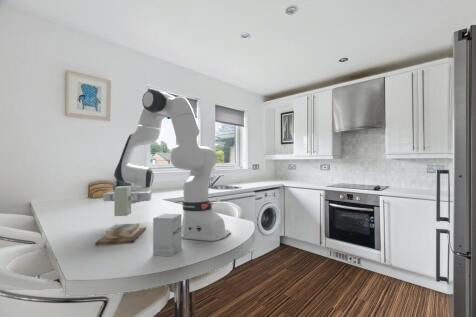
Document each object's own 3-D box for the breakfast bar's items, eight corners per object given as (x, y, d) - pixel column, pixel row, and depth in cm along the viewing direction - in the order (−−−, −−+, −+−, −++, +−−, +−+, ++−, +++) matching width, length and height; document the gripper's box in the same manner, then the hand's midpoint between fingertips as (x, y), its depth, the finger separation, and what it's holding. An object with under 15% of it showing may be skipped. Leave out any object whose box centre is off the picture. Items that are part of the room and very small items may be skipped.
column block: (131, 213, 99) (131, 186, 99) (127, 215, 94) (127, 187, 94) (119, 213, 98) (119, 186, 99) (114, 216, 93) (114, 187, 94)
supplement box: (172, 256, 74) (172, 218, 74) (152, 255, 75) (152, 217, 76) (182, 248, 81) (182, 213, 81) (163, 247, 83) (163, 213, 83)
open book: (146, 229, 106) (146, 220, 106) (133, 242, 88) (133, 232, 88) (114, 231, 104) (114, 222, 104) (95, 244, 86) (95, 234, 86)
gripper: (110, 188, 108) (96, 191, 94) (154, 187, 111) (146, 190, 97) (110, 201, 108) (96, 206, 94) (154, 200, 110) (146, 205, 97)
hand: (122, 198), depth 95 cm, fingers closed on column block, 5 cm apart
